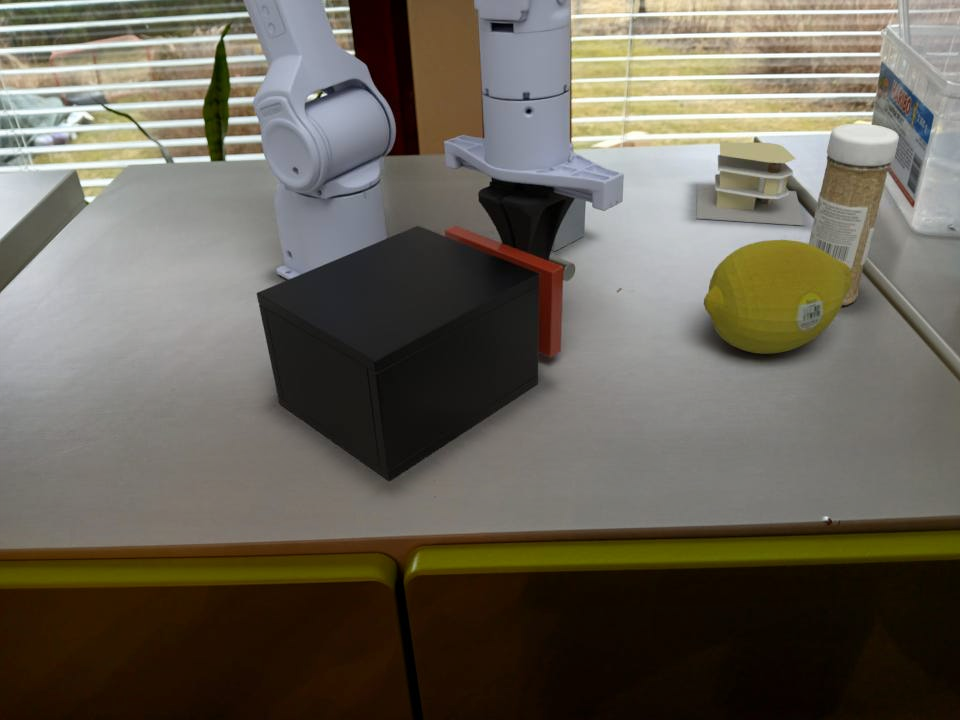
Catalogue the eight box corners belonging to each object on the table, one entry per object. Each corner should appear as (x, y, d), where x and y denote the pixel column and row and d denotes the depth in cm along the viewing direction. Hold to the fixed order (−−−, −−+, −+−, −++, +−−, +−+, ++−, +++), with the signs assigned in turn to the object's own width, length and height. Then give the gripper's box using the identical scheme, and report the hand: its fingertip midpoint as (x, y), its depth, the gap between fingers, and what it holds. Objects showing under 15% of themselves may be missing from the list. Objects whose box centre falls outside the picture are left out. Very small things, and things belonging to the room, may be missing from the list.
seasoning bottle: (868, 297, 64) (914, 132, 57) (832, 314, 62) (875, 144, 54) (820, 276, 67) (857, 117, 60) (784, 291, 65) (818, 129, 58)
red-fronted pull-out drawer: (495, 285, 65) (494, 208, 62) (596, 328, 59) (601, 245, 56) (332, 370, 56) (319, 284, 52) (433, 432, 49) (427, 339, 46)
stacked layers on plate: (696, 218, 78) (703, 164, 75) (697, 185, 85) (704, 135, 82) (804, 225, 76) (815, 170, 73) (795, 191, 83) (806, 139, 80)
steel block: (519, 238, 75) (519, 194, 73) (548, 224, 78) (549, 181, 75) (554, 251, 73) (556, 206, 70) (584, 236, 75) (586, 192, 73)
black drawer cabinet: (425, 327, 62) (417, 224, 57) (538, 383, 55) (540, 273, 50) (278, 403, 54) (255, 292, 49) (389, 481, 47) (374, 361, 42)
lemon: (710, 377, 55) (727, 274, 51) (680, 320, 62) (692, 225, 57) (863, 368, 56) (892, 266, 51) (816, 313, 62) (839, 218, 58)
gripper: (656, 91, 49) (643, 286, 56) (488, 64, 58) (496, 236, 65) (585, 117, 45) (582, 324, 52) (416, 84, 54) (433, 265, 61)
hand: (530, 278), depth 59 cm, fingers closed, pressing on red-fronted pull-out drawer
